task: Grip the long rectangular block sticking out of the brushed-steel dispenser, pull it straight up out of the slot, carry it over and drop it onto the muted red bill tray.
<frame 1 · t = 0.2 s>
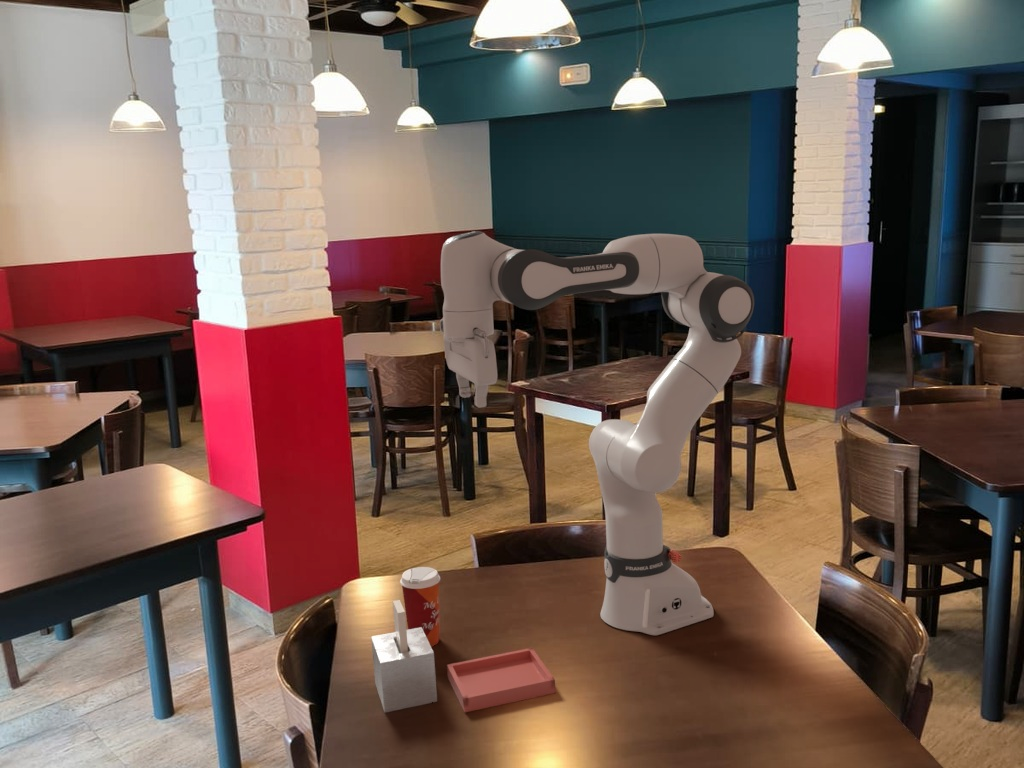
hand: (472, 401, 160), 48 cm above the table, tool pointing down, fingers open, 8 cm apart
paper cup: (424, 642, 172), on the table
long rectangular block: (403, 671, 153), point 4 cm above the table, touching dispenser
dispenser: (405, 692, 154), on the table
tray: (500, 685, 155), on the table
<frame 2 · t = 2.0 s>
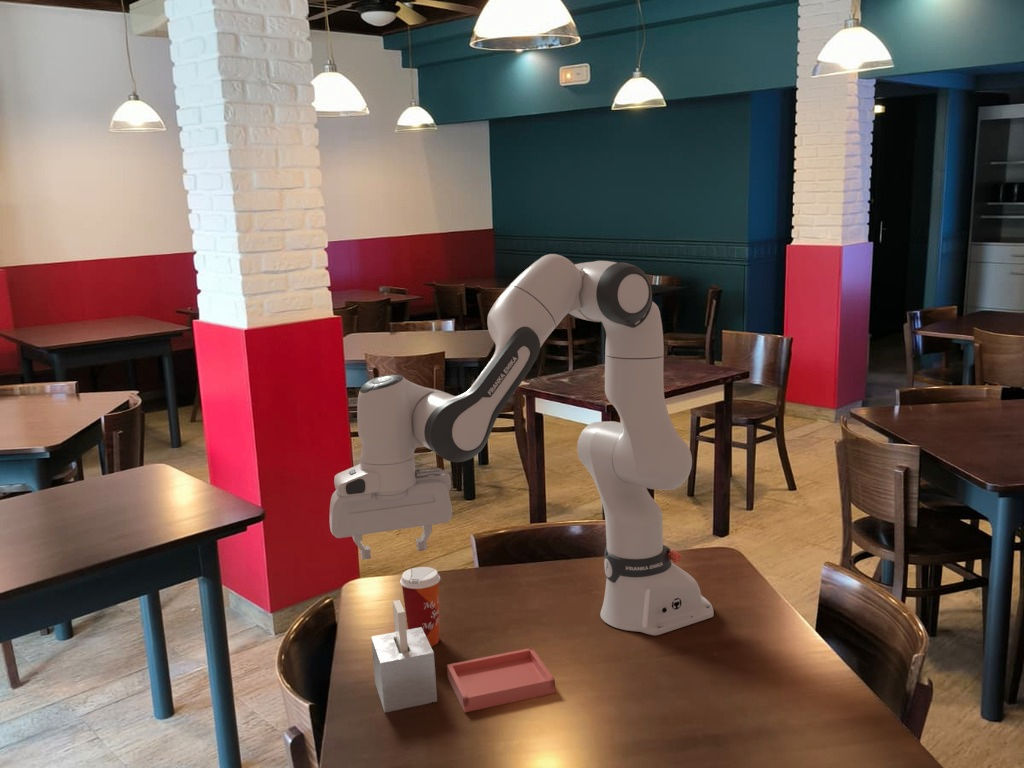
hand: (394, 553, 149), 25 cm above the table, tool pointing down, fingers open, 8 cm apart
nothing on the table moved.
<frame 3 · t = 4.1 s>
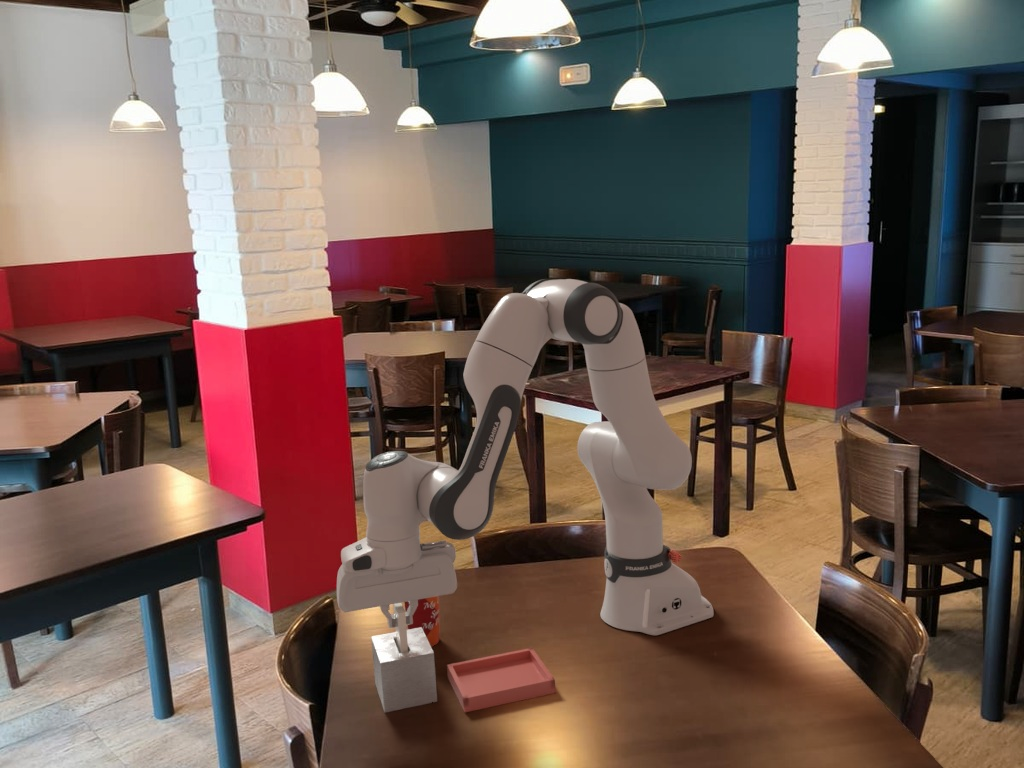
hand: (400, 624, 152), 13 cm above the table, tool pointing down, fingers closed on long rectangular block, 1 cm apart
long rectangular block: (403, 671, 153), point 4 cm above the table, touching dispenser, gripper
everything else where it was.
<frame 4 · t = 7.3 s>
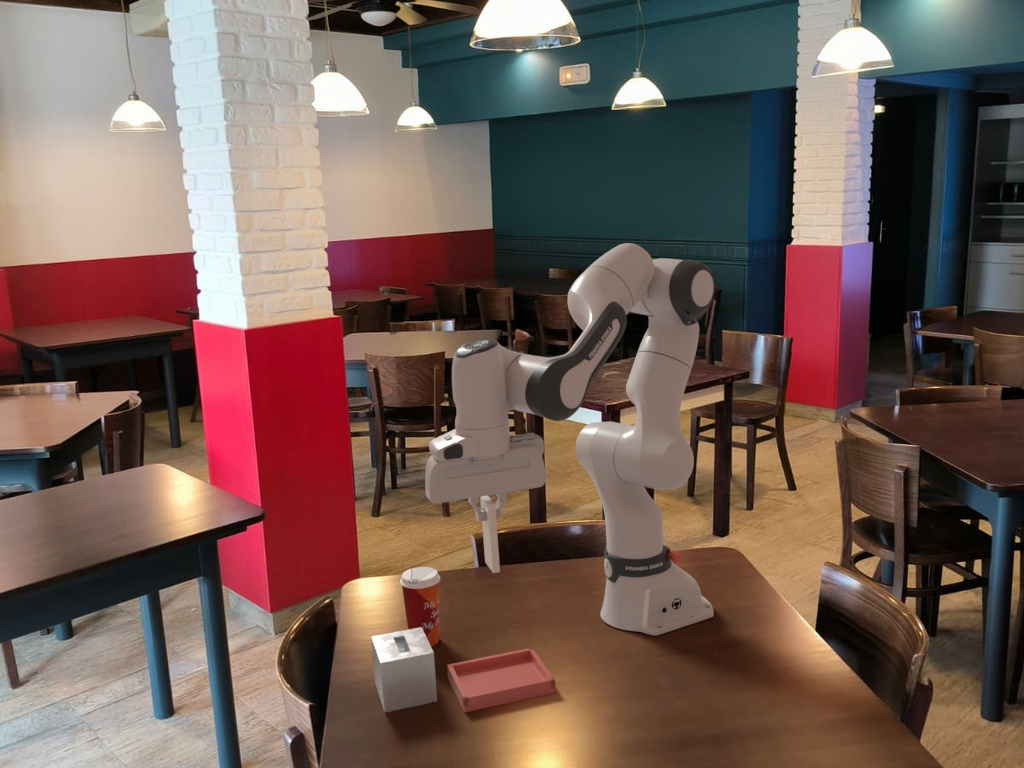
hand: (488, 519, 149), 30 cm above the table, tool pointing down, fingers closed on long rectangular block
long rectangular block: (492, 567, 151), point 22 cm above the table, touching gripper
everything else where it was.
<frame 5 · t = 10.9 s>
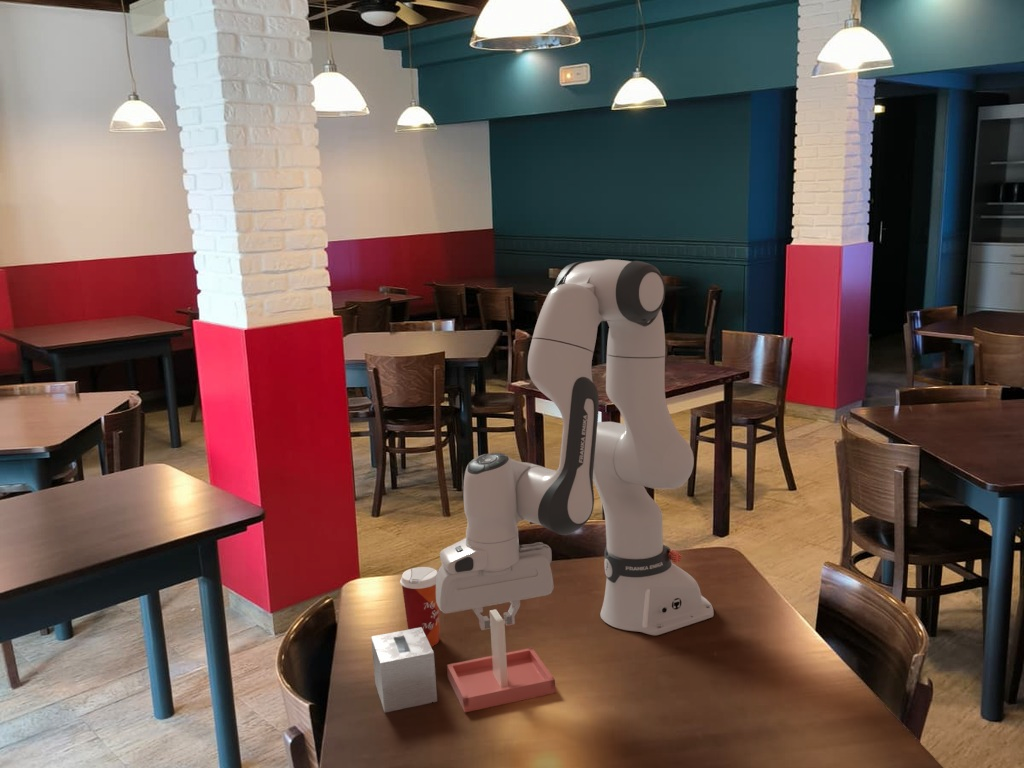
hand: (497, 625, 153), 11 cm above the table, tool pointing down, fingers open, 3 cm apart
long rectangular block: (500, 679, 155), point 1 cm above the table, touching tray
everything else where it was.
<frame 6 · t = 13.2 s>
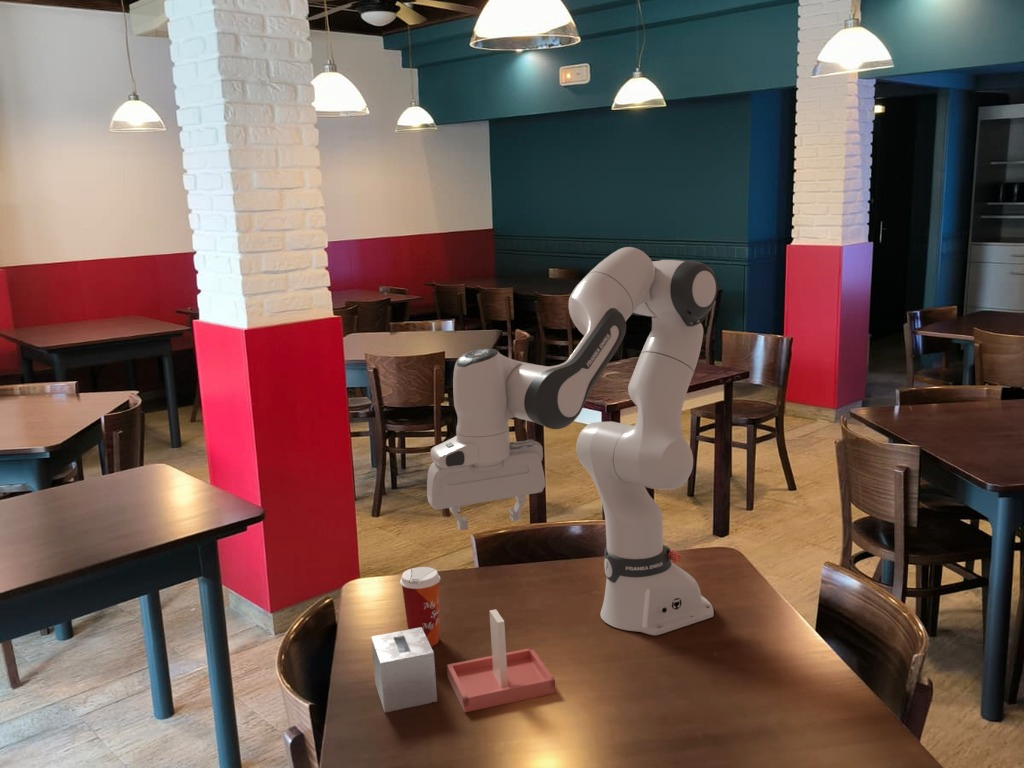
hand: (489, 524, 152), 28 cm above the table, tool pointing down, fingers open, 8 cm apart
nothing on the table moved.
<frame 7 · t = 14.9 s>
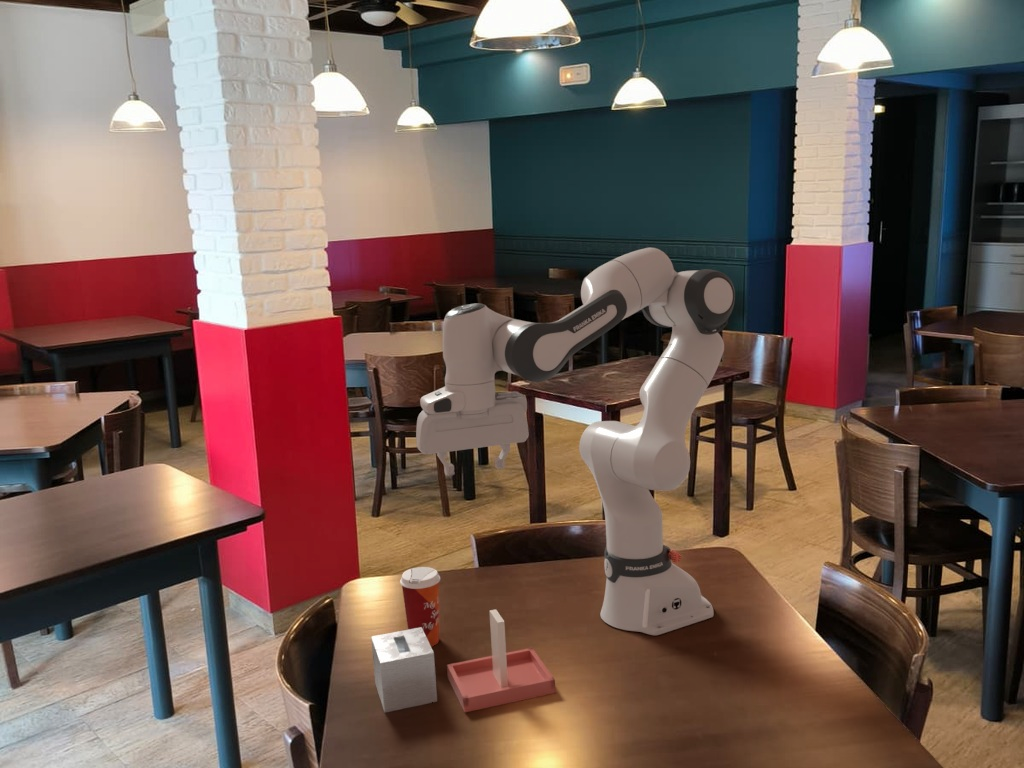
hand: (475, 471, 161), 35 cm above the table, tool pointing down, fingers open, 8 cm apart
nothing on the table moved.
at the end: long rectangular block inside the target area on the tray (0.1 cm from its centre), point 1.0 cm above the tray's base; long rectangular block touching tray; the gripper is holding nothing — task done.
